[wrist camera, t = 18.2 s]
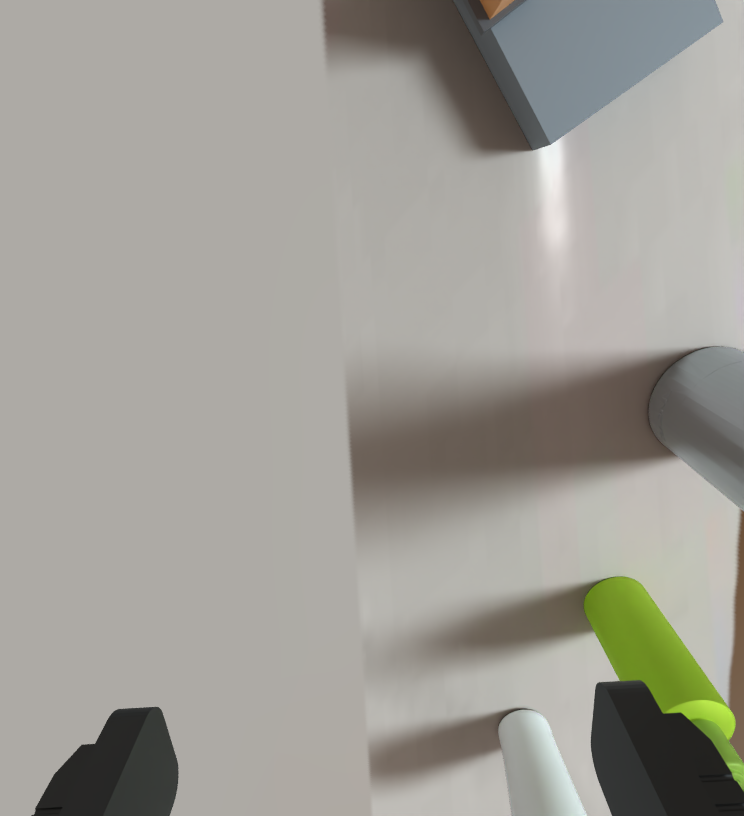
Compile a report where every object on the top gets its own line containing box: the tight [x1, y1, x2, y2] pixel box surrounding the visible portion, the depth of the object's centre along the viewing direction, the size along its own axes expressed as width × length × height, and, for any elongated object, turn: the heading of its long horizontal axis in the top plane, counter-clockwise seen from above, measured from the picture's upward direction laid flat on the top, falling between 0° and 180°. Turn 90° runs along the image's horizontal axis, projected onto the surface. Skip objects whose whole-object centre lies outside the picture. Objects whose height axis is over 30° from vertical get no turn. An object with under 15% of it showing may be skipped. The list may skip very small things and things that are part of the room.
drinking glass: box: [498, 710, 587, 816], centre depth 49 cm, size 7×7×15 cm
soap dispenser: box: [584, 577, 744, 791], centre depth 41 cm, size 6×7×20 cm
